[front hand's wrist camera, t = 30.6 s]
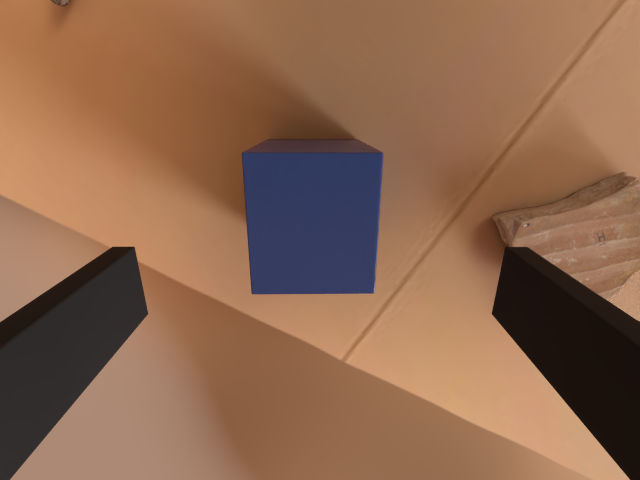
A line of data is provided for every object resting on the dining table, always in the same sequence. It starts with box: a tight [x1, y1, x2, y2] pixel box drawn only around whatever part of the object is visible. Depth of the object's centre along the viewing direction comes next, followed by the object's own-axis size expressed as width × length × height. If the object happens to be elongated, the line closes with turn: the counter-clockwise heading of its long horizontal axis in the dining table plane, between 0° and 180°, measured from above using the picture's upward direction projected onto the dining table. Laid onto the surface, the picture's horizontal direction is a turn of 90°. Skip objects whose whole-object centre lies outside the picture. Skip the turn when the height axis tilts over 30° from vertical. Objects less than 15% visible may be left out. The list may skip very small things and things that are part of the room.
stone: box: [492, 172, 640, 300], centre depth 30 cm, size 13×12×3 cm
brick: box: [242, 139, 383, 294], centre depth 25 cm, size 8×7×11 cm
